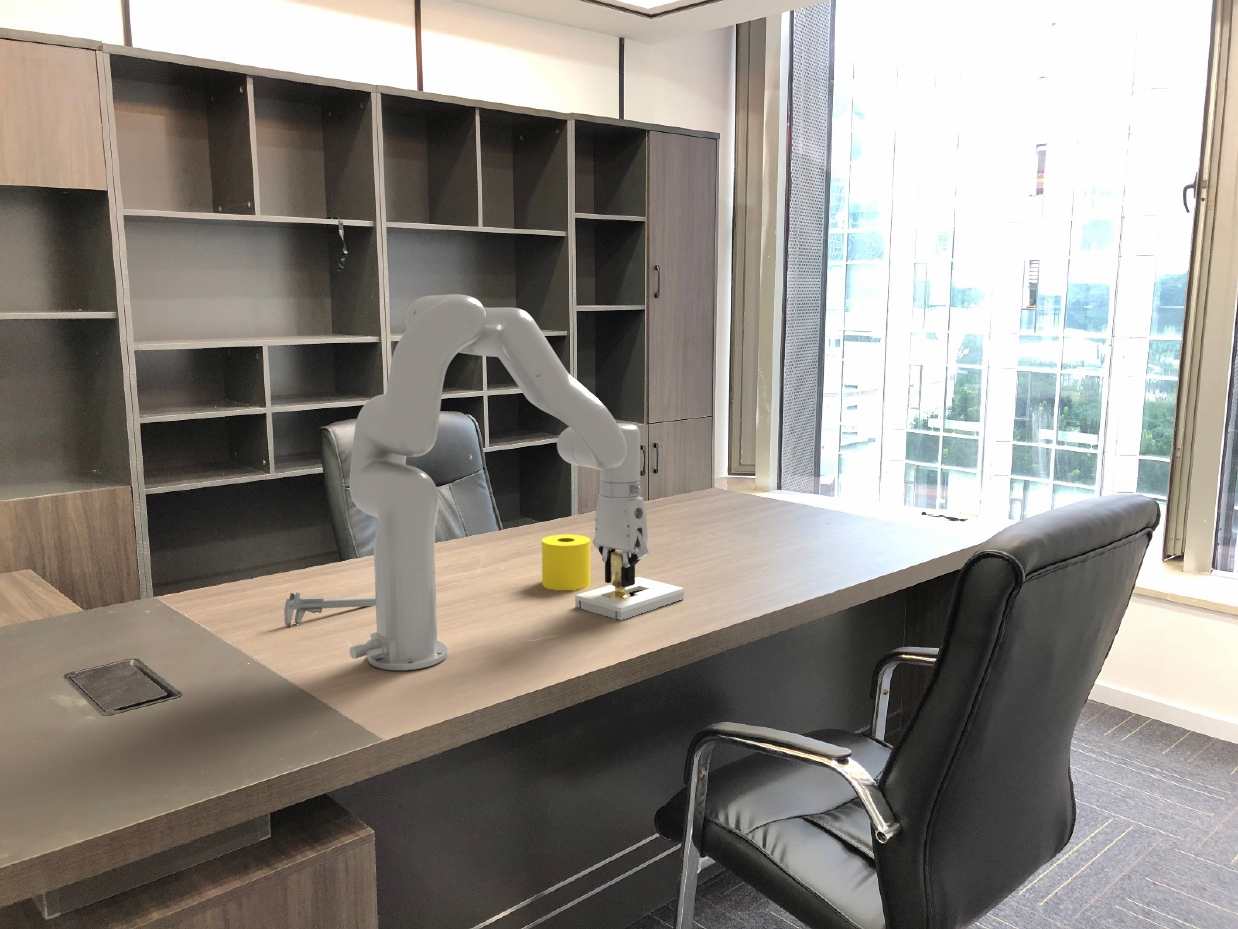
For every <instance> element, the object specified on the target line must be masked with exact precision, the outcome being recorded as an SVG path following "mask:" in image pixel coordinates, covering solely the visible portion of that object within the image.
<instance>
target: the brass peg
mask: <svg viewBox="0 0 1238 929" xmlns="http://www.w3.org/2000/svg"><path fill="white" fill-rule="evenodd" d="M630 557H631V553H629V558H630ZM623 566H624V563H623V554H622V551H621V550H617V551H616V552H612V553H611V583H610V585H612V586H615V593H612V594H610V598H614V599H617V600H623V599H626V598H629V597H631V594H630V593H625V588H624V587H622V586H621V568H622V567H623Z"/></svg>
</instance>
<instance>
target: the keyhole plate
mask: <svg viewBox="0 0 1238 929" xmlns="http://www.w3.org/2000/svg"><path fill="white" fill-rule="evenodd" d="M640 590H642V591H640ZM684 590H685V589H684V587H681V586H676V585H673V584H669V583H666V582H661V581H657V580H652V579H649V578H646V577H645V578H644V577H641V576H637V577H636V576H635V584H634V585H632V586H629V587H625V593H628V594H630V592H631V593H633V596H630V597H629V598H626V599H623V600H617V599H614V598H610V594H612V593H615V586H612V585H611V584H607V585H605V586H602V587H598V588H595V589H592V590H588V591H585V592H580V593H578V594H575V600H574V601H575V603H574V604H575V605H574V606H575V607H574V608H577V607H578V609H581V610H583V609H585V610H584V611H587V610H588V611H587V612H591V613H594V614H597V613H598V614H597V615H600V614H601V615H602V616H604V617H607V616H608V617H607V618H610V617H611V618H612V619H614V620H616V619H619V620H618V621H621V620H622V621H624V620H623V619H625V620H627V618H628V619H631V618H633V617H632V616H634V617H636V615H637V616H639V614H640V615H642V614H641V613H643V614H646V613H648V612H647V611H649V612H651V611H650V610H652V609H655V610H657V609H656V608H658V607H660V606H664V607H666V606H665V605H667V604H669V603H672V602H676V601H678V600H680V599H685V598H684V593H685V592H684ZM633 591H634V592H633ZM637 591H638V592H637ZM676 603H677V602H676ZM667 606H668V605H667ZM580 607H581V608H580ZM658 609H659V608H658ZM652 611H653V610H652ZM645 612H646V613H645ZM630 617H631V618H630Z"/></svg>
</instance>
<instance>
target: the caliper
mask: <svg viewBox="0 0 1238 929" xmlns="http://www.w3.org/2000/svg"><path fill="white" fill-rule="evenodd" d="M289 594H290V595H289V598H286V601H285V605H284V612H283V613H284V625H285V626H286V625H287V626H286V627H288V626H292V621H293V620H292V619H293V616H294V610H295V616H294V623H296V624H299V623H300V624H301V623H302V620H303V618H304V615H305V613H306V612H309V613H312V614H315V613H319V614H320V613H321V614H322V610H323V609H335V608H336V609H338V608H341V609H342V608H358V607H359V608H362V607H363V608H364V607H374V606H376V597H362V598H359V597H358V598H357V597H355V598H335V599H334V598H332V599H328V598H327V599H324V598H323V597H301V596H300V595H301V594H300V592H296V593H293V592H290V593H289Z"/></svg>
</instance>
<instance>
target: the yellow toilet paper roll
mask: <svg viewBox="0 0 1238 929" xmlns="http://www.w3.org/2000/svg"><path fill="white" fill-rule="evenodd" d="M541 580H542V581H541V582H542V584H541V585H542V587H543V586H544V587H543V588H545V589H548V590H551V589H554V590H553V591H558V590H573V591H575V590H574V589H580V590H583V588H584V589H586V588H585V587H587V586H588V587H590V586H591V538H590V537H588V536H585V535H579V534H556V535H550V536H549V535H548V536H545V537H544V538H542V539H541ZM589 585H590V586H589ZM588 587H587V588H588Z"/></svg>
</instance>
